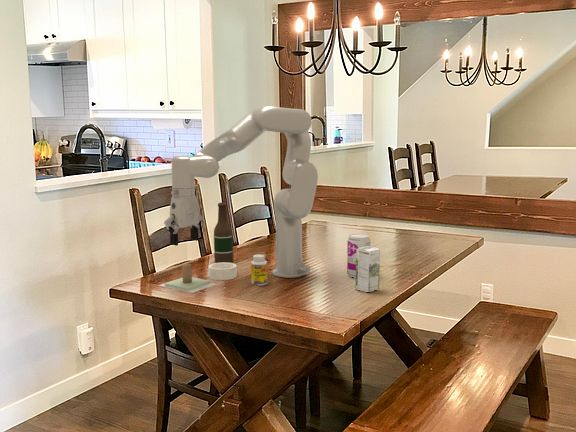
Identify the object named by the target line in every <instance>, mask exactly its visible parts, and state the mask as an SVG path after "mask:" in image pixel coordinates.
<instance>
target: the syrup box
mask: <svg viewBox="0 0 576 432" xmlns="http://www.w3.org/2000/svg"><path fill="white" fill-rule="evenodd" d="M380 265H381V249H380V248H378V247H375V246H371V245H370V246H366V247H362V248H358V249H356V278H355V290H356V289H357V290H356V291H358V290H362V291H365V292H364V293H366V292H371V291H374V290H377V289H379V290H380V269H381V268H380ZM377 291H378V290H377ZM374 292H375V291H374ZM371 293H372V292H371Z"/></svg>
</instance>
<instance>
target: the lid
mask: <svg viewBox="0 0 576 432" xmlns="http://www.w3.org/2000/svg"><path fill="white" fill-rule="evenodd" d="M192 267H193V266H192V264H191V263H184V264H181V269H182V271H181V272H182V273H181V274H182V276H181V277H180V278H177V279H174V280H171V281H168V282H165V286H166V287H165V288H168V287H171V288H170V289H172V288H175V289H174V290H177V289H180V290H179V291H181V290H185V291H184V292H186V291H190V290H193V289H196V288H199V287H202V286H204V285H207V284H210V283H211V280H208V279H203V278H199V277H193V273H192Z"/></svg>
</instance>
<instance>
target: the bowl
mask: <svg viewBox="0 0 576 432" xmlns="http://www.w3.org/2000/svg"><path fill="white" fill-rule="evenodd" d="M237 267H238V265H237V264H236V263H234V262H233V263H226V262H221V263H215V262H214V263H211V264H209V265H208V267H207V276H208V277H207V278H209V279H210V280H213V281H229V280H233V279H236V278H237V276H238V269H237Z"/></svg>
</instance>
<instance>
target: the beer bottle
mask: <svg viewBox="0 0 576 432" xmlns="http://www.w3.org/2000/svg"><path fill="white" fill-rule="evenodd" d="M227 206H228V205H227V202H218V203H217V207H218V209H217V210H218V212H217V213H218V214H217V223H216V224H215V226H214V229H213V249H214V250H213V252H214V263H221V262H226V263H234V242H233V241H234V239H233V230H232V227H231V225H230V223H229V221H228V210H227Z"/></svg>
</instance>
